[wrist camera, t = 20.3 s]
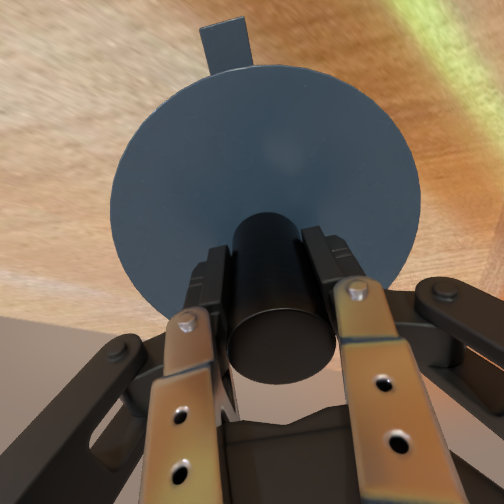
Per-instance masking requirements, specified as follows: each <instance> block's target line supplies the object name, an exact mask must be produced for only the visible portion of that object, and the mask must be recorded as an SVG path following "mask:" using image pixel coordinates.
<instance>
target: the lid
mask: <svg viewBox="0 0 504 504" xmlns="http://www.w3.org/2000/svg"><path fill="white" fill-rule="evenodd" d="M420 202H421V191H420V185H419V178H418V172H417V169H416V165H415V162H414V159H413V156H412V153H411V151H410V149H409V147H408V145H407V143H406V141H405V139H404V137H403V135H402V133H401V132H400V130H399V129H398V128H397V126H396V125H395V124H394V122H393V121H392V119H391V118H390V117H389V115H388V114H387V113H385V112H384V111H383V110H382V109H381V108H380V107H379V106H378V105H377V104H376V103H375V102H374V101H373V100H372V99H371V98H369V97H368V96H366V95H365V94H364V93H362V92H361V91H359V90H358V89H356V88H355V87H353V86H352V85H350V84H348V83H345V82H343V81H341V80H339V79H337V78H335V77H333V76H331V75H328V74H324V73H321V72H318V71H314V70H311V69H307V68H302V67H294V66H287V65H252V66H246V67H241V68H236V69H230V70H226V71H223V72H220V73H217V74H214V75H211V76H208V77H206V78H203V79H201V80H199V81H197V82H195V83H193V84H191V85H189V86H187V87H186V88H184V89H182V90H180V91H178V92H177V93H176V94H174V95H173V96H172V97H170V98H169V99H168V100H166V101H165V102H164V103H162V104H161V105H160V106H159V107H158V108H157V109H156V110H155V111H154V112H153V113H152V114H151V115H150V116H149V117H148V118H147V119H146V120H145V121H144V122H143V123H142V124H141V126H140V127H139V129H138V130H137V131H136V133H135V134H134V136H133V137H132V139H131V140H130V141H129V143H128V145H127V147H126V149H125V151H124V153H123V155H122V157H121V159H120V161H119V164H118V168H117V171H116V174H115V177H114V180H113V186H112V192H111V199H110V222H111V229H112V236H113V241H114V244H115V247H116V251H117V254H118V257H119V259H120V261H121V263H122V266H123V268H124V270H125V272H126V274H127V275H128V277H129V278H130V280H131V282H132V283H133V285H134V286H135V288H136V289H137V290H138V291H139V292H140V294H141V295H142V296H143V297H144V298H145V300H146V301H148V302H149V303H150V304H151V305H152V306H153V307H154V308H155V309H156V310H157V311H158V312H160V313H161V314H162V315H164V316H165V317H166V318H167V319H169V320H170V319H171V318H172V317H173V316H174V315H175V314H176V313H178V312H179V311H181V310H182V309H183V306H184V302H185V298H186V294H187V290H188V288H189V282H190V278H191V274H192V271H193V269H194V268H195V267H196V266H197V265H198V263H199V262H204V261H207V257H208V251H209V248H213V247H218V246H223V245H228V247H229V250H230V253H231V272H230V287H229V303H228V319H227V335H226V355H227V358H228V360H229V362H230V364H231V365H232V367H233V368H234V369H235V370H236V371H237V372H238V373H240V374H241V375H242V376H244V377H246V378H248V379H250V380H253V381H256V382H259V383H264V384H274V385H279V384H290V383H294V382H298V381H302V380H304V379H307V378H309V377H311V376H313V375H315V374H316V373H318V372H319V371H321V370H322V369H323V368H324V367H325V366H326V365H327V364H328V363H329V362H330V360H331V359H332V357H333V355H334V352H335V348H336V337H335V333H334V330H333V327H332V324H331V322H330V319H329V316H328V313H327V310H326V308H325V305H324V302H323V299H322V297H321V294H320V291H319V288H318V285H317V283H316V280H315V277H314V274H313V271H312V268H311V266H310V263H309V260H308V257H307V254H306V251H305V249H304V246H303V243H302V236H301V229H304V228H309V227H314V226H320V228H321V230H322V232H323V234H324V236H325V237H326V236H331V235H337V236H338V237H340V238H342V239H344V240H345V242H346V243H347V245H348V247H349V249H350V250H351V251H352V253H353V255H354V256H355V258H356V260H357V261H358V263H359V264H360V266H361V268H362V269H363V271H364V273H365V274H366V276H367V277H370V278H373V279H375V280H376V281H378V282H379V283H380V284H381V285H382V287H383V288H384V289H388V288H389V286H390V285H391V284H392V282H393V281H394V280H395V279H396V277H397V276H398V274H399V272H400V271H401V269H402V267H403V266H404V264H405V262H406V260H407V258H408V256H409V253H410V251H411V249H412V247H413V243H414V240H415V237H416V233H417V230H418V224H419V217H420Z"/></svg>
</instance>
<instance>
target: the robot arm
mask: <svg viewBox="0 0 504 504" xmlns="http://www.w3.org/2000/svg"><path fill="white" fill-rule="evenodd" d="M301 236H302V243H303V246H304V249H305V251H306V254H307V257H308V260H309V263H310V266H311V268H312V271H313V274H314V277H315V280H316V283H317V285H318V288H319V291H320V294H321V297H322V299H323V302H324V305H325V308H326V310H327V313H328V316H329V319H330V322H331V324H332V327H333V330H334V333H335V335H336V336H337V339H338V342H339V350H340V358H341V366H342V374H343V382H344V391H345V399H346V404H345V405H340V406H332V407H327V408H324V409H322V410H320V411H318V412H315V413H313V414H311V415H308V416H306V417H304V418H302V419H299V420H297V421H295V422H293V423H290V424H287V425H278V424H270V423H262V422H253V421H245V420H242V421H240V417H239V411H238V405H237V399H236V394H235V387H234V382H233V376H232V370H231V367H230V365H229V364H230V362H229V360H228V358H227V355H226V335H227V319H228V303H229V287H230V272H231V253H230V250H229V247H228V245H223V246H218V247H213V248H209V251H208V257H207V261H204V262H199V263H198V265H197V266H196V267H195V268H194V269H193V271H192V274H191V278H190V282H189V288H188V290H187V294H186V298H185V302H184V306H183V309H182V310H181V311H179V312H178V313H176V314H175V315H174V316H173V317H172V318H171V319H170V320H169V322H168V324H167V327H166V332H164V333H162V334H160V335H158V336H156V337H153V338H151V339H149V340H147V341H144V342H142V340H141V339H140V337H139V336H138V335H136V334H131V333H130V334H123V335H120V336H118V337H116V338H114V339H112V340H111V341H109V342H108V343H107V344H105V345H104V346H103V347H102V348H101V349H100V350H99V351H98V353H96V355H95V356H94V357H93V358H92V359H91V360H90V361H89V362H88V363H87V364H86V365H85V366H84V367H83V368H82V369H81V371H79V373H78V374H77V375H76V376H75V377H74V378H73V379H72V380H71V381H70V382H69V383H68V384H67V385H66V386H65V387H64V388H63V390H62V391H61V392H60V393H59V394H58V395H57V396H56V397H55V398H54V399H53V400H52V401H51V402H50V403H49V404H48V405H47V407H46V408H45V409H44V410H43V411H42V412H41V413H40V414H39V415H38V416H37V417H36V418H35V419H34V420H33V421H32V422H31V423H30V425H29V426H28V427H27V428H26V429H25V430H24V431H23V432H22V433H21V434H20V435H19V436H18V438H16V439H15V440H14V442H13V443H12V444H11V445H10V446H9V447H8V448H7V449H6V450H5V451H4V452H3V453H2V454H1V455H0V504H113V503H114V502H115V500H116V498H117V497H118V495H119V493H120V492H121V490H122V488H123V487H124V485H125V483H126V481H127V480H128V478H129V477H130V475H131V473H132V472H133V470H134V468H135V467H136V465H137V464H138V462H139V460H140V459H141V457H142V455H143V454H144V456H143V465H142V475H141V483H140V492H139V501H138V504H504V489H503V488H501V487H500V486H499V485H497V484H496V483H495V482H493V481H492V480H490V479H489V478H488V477H486V476H485V475H484V474H482V473H481V472H479V471H478V470H477V469H475V468H474V467H473V466H471V465H470V464H468V463H467V462H466V461H464V460H463V459H462V458H460V457H459V456H458V455H456V454H455V453H453V452H452V451H451V450H449V449H448V446H447V443H446V440H445V438H444V435H443V433H442V430H441V427H440V424H439V422H438V419H437V416H436V414H435V411H434V408H433V406H432V403H431V400H430V397H429V395H428V392H427V389H426V387H425V384H424V381H423V379H422V376H421V373H422V374H423V375H424V376H426V377H427V378H428V379H430V380H431V381H432V382H433V383H434V384H436V385H437V386H438V387H439V388H440V389H442V390H443V391H444V392H445V393H447V394H448V395H449V396H450V397H451V398H453V399H454V400H455V401H456V402H458V403H459V404H460V405H461V406H463V407H464V408H465V409H466V410H467V411H469V412H470V413H471V414H472V415H473V416H475V417H476V418H477V419H478V420H480V421H481V422H482V423H483V424H484V425H486V426H487V427H488V428H489V429H491V430H492V431H493V432H494V433H495V434H497V435H498V436H499V437H500V438H502V439H503V440H504V371H502V370H501V369H499V368H498V367H496V366H495V365H493V364H491V363H490V362H488V361H487V360H485V359H484V358H482V357H481V356H479V355H478V354H476V353H474V352H473V351H471V350H470V349H468V348H467V346H469V347H470V348H472V349H473V350H475V351H476V352H478V353H479V354H481V355H483V356H484V357H486V358H487V359H489V360H490V361H492V362H494V363H495V364H497V365H498V366H500V367H501V368H503V369H504V301H503V300H500V299H498V298H496V297H494V296H492V295H490V294H488V293H486V292H483V291H481V290H479V289H477V288H475V287H473V286H471V285H469V284H466V283H464V282H462V281H460V280H457V279H454V278H449V277H430V278H426V279H424V280H422V281H420V282H419V283H418V284H417V286H416V288H415V291H393V290H387V289H384V288H383V287H382V285H381V284H380V283H379V282H378V281H376V280H375V279H373V278H370V277H367V276H366V274H365V273H364V271H363V269H362V268H361V266H360V264H359V263H358V261H357V260H356V258H355V256H354V255H353V253H352V251H351V250H350V249H349V247H348V245H347V243H346V242H345V240H344V239H342V238H340V237H338V236H337V235H331V236H326V237H325V236H324V234H323V232H322V230H321V228H320V226H314V227H309V228H304V229H301ZM420 372H421V373H420ZM118 398H120V400H121V401H122V402H123V406H122V407H121V409H120V410H119V411H118V413H117V414H116V415H115V416H114V418H113V419H112V420H111V422H110V423H109V424H108V426H107V427H106V429H105V430H104V431H103V433H102V434H101V435H100V437H99V438H98V439H97V441H96V442H95V443H94V445H93V446H92V447H91V449H90V448H89V441H90V437H91V435H92V433H93V431H94V430H95V428H96V427H97V426H98V424H99V423H100V422H101V421H102V419H103V418H104V417H105V415H106V414H107V413H108V411H109V410H110V409H111V407H112V406H113V405H114V404H115V402H116V401H117V399H118Z"/></svg>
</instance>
